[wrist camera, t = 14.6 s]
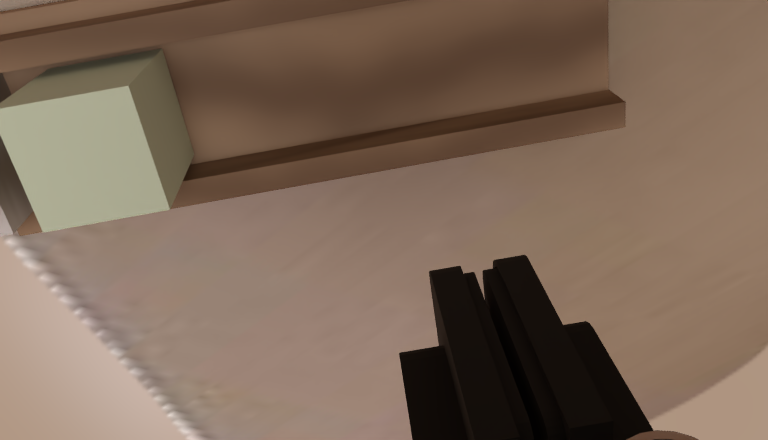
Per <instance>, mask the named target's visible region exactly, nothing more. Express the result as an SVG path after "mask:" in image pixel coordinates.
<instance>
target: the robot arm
mask: <svg viewBox="0 0 768 440" xmlns="http://www.w3.org/2000/svg"><path fill="white" fill-rule="evenodd" d="M429 276H430V284H431V291H432V299H433V306H434V313H435V320H436V327H437V335H438V342H439V346H437V347H431V348H425V349H419V350H414V351H408V352H402V353H399V355H400V362H401V368H402V375H403V381H404V387H405V394H406V400H407V407H408V413H409V419H410V426H411V432H412V439H413V440H698V439H696V438H694V437H692V436H689V435H685V434H682V433H678V432H674V431H659V430H656V431H653V429H652V427H651V425H650V424H649V422H648V420H647V419H646V417H645V415H644V414H643V412H642V410H641V408H640V407H639V405H638V403H637V402H636V400H635V398H634V397H633V395H632V393H631V391H630V390H629V388H628V386H627V385H626V383H625V381H624V380H623V378H622V376H621V374H620V373H619V371H618V369H617V368H616V366H615V364H614V363H613V361H612V359H611V357H610V356H609V354H608V352H607V351H606V349H605V347H604V346H603V344H602V342H601V340H600V339H599V337H598V335H597V334H596V332H595V330H594V329H593V327H592V326H591V325H590V323H588V322H586V321H585V322H579V323H573V324H567V325H563V324H562V322H561V320H560V318H559V316H558V315H557V313H556V311H555V309H554V307H553V305H552V303H551V301H550V299H549V297H548V296H547V294H546V292H545V290H544V288H543V286H542V284H541V282H540V280H539V278H538V277H537V275H536V273H535V271H534V269H533V267H532V265H531V263H530V261H529V259H528V258H527V256H526V255H521V256H515V257H510V258H504V259H498V260H494V261H493V269H488V270H483V284H484V295H485V300H484V297H483V294H482V292H481V289H480V286H479V283H478V281H477V278H476V275H475V273H474V272H471V273H465V274H463V271H462V269H461V266H456V267H450V268H444V269H439V270H433V271H429Z"/></svg>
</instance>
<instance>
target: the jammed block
mask: <svg viewBox="0 0 768 440" xmlns="http://www.w3.org/2000/svg"><path fill="white" fill-rule="evenodd" d="M0 136H1V138H2V140H3V142H4V145H5V147H6V149H7V152H8V154H9V156H10V158H11V161H12V163H13V165H14V168H15V170H16V172H17V174H18V177H19V179H20V181H21V183H22V186H23V188H24V190H25V193H26V195H27V197H28V199H29V202H30V204H31V206H32V209H33V211H34V213H35V215H36V218H37V220H38V222H39V224H40V227H41V229H42V231H43V233H44V232H50V231H55V230H61V229H66V228H72V227H77V226H83V225H88V224H94V223H100V222H105V221H111V220H116V219H122V218H127V217H133V216H138V215H144V214H150V213H155V212H161V211H166V210H170V209H171V206H172V204H173V202H174V200H175V197H176V195H177V193H178V190H179V188H180V186H181V184H182V181H183V179H184V177H185V175H186V172H187V170H188V168H189V166H190V163H191V161H192V159H193V156H194V152H193V148H192V145H191V142H190V138H189V135H188V132H187V129H186V125H185V122H184V119H183V115H182V112H181V109H180V106H179V102H178V99H177V96H176V92H175V89H174V86H173V83H172V79H171V76H170V73H169V69H168V66H167V63H166V60H165V56H164V53H163V50H162V49H156V50H151V51H145V52H139V53H134V54H128V55H123V56H117V57H111V58H106V59H100V60H94V61H89V62H83V63H78V64H72V65H66V66H61V67H55V68H49V69H47V70H46V71H44V72H43V73H42V74H40V75H39V76H37V77H36V78H35V79H33V80H32V81H30V82H29V83H28V84H26V85H25V86H23V87H22V88H20V89H19V90H18V91H16V92H15V93H13V94H12V95H11V96H9V97H8V98H6V99H5V100H4V101H2V102H1V103H0Z"/></svg>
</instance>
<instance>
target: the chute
mask: <svg viewBox="0 0 768 440" xmlns="http://www.w3.org/2000/svg"><path fill="white" fill-rule="evenodd" d="M156 49H162V50H163V53H164V56H165V60H166V63H167V66H168V69H169V73H170V76H171V79H172V83H173V86H174V89H175V92H176V96H177V99H178V102H179V106H180V109H181V112H182V115H183V119H184V122H185V125H186V129H187V132H188V135H189V138H190V142H191V145H192V148H193V152H194V156H193V159H192V161H191V163H190V166H189V168H188V170H187V172H186V175H185V177H184V179H183V181H182V184H181V186H180V188H179V190H178V193H177V195H176V197H175V200H174V202H173V204H172V206H171V209H173V208H178V207H184V206H189V205H195V204H200V203H206V202H212V201H217V200H223V199H228V198H234V197H239V196H245V195H250V194H256V193H262V192H267V191H273V190H278V189H284V188H289V187H295V186H301V185H306V184H312V183H317V182H323V181H328V180H334V179H339V178H345V177H351V176H356V175H362V174H367V173H373V172H378V171H384V170H389V169H395V168H401V167H406V166H412V165H417V164H423V163H428V162H434V161H439V160H445V159H451V158H456V157H462V156H467V155H473V154H478V153H484V152H489V151H495V150H501V149H506V148H512V147H517V146H523V145H528V144H534V143H539V142H545V141H551V140H556V139H562V138H567V137H573V136H578V135H584V134H589V133H595V132H601V131H606V130H612V129H617V128H623V127H625V103H626V102H625V101H623V100H622V99H621V98H619V97H618V96H617V95H615V94H614V93H612V92H611V91H610V90H608V0H65V1H59V2H54V3H48V4H42V5H37V6H31V7H25V8H20V9H14V10H8V11H3V12H0V103H1V102H2V101H4V100H5V99H6V98H8V97H9V96H11V95H12V94H13V93H15V92H16V91H18V90H19V89H20V88H22V87H23V86H25V85H26V84H28V83H29V82H30V81H32V80H33V79H35V78H36V77H37V76H39V75H40V74H42V73H43V72H44V71H46V70H47V69H49V68H55V67H61V66H66V65H72V64H78V63H83V62H89V61H94V60H100V59H106V58H111V57H117V56H123V55H128V54H134V53H139V52H145V51H151V50H156ZM16 230H17V231H18V233H19V235H20V236H23V235H28V234H34V233H39V232H43V231H42V229H41V227H40V224H39V222H38V220H37V218H36V215H35V213H34V211H33V209H32V206H31V204H30V202H29V199H28V197H27V195H26V193H25V190H24V188H23V186H22V183H21V181H20V179H19V177H18V174H17V172H16V170H15V168H14V165H13V163H12V161H11V158H10V156H9V154H8V152H7V149H6V147H5V145H4V142H3V140H2V138H1V136H0V236H5V235H10V234H14V233H15V232H16Z"/></svg>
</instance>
